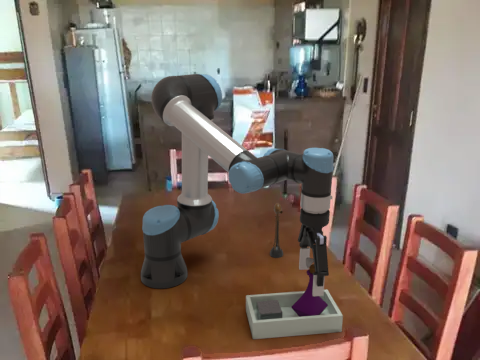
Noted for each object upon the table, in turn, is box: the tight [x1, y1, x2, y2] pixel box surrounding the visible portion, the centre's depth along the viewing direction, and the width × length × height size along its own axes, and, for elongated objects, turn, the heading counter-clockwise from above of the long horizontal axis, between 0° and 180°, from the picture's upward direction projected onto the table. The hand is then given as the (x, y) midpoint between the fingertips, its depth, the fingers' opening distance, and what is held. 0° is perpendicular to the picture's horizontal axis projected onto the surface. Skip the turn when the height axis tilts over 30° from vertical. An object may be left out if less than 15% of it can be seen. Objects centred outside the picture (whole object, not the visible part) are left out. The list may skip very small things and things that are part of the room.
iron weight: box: [256, 300, 282, 320], centre depth 120 cm, size 6×6×4 cm
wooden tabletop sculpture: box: [269, 202, 284, 259], centre depth 156 cm, size 6×5×20 cm
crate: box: [245, 288, 344, 340], centre depth 121 cm, size 24×13×5 cm, turn 97°
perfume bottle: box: [291, 257, 328, 317], centre depth 120 cm, size 8×8×18 cm
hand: (310, 281), depth 119 cm, fingers open, 13 cm apart
